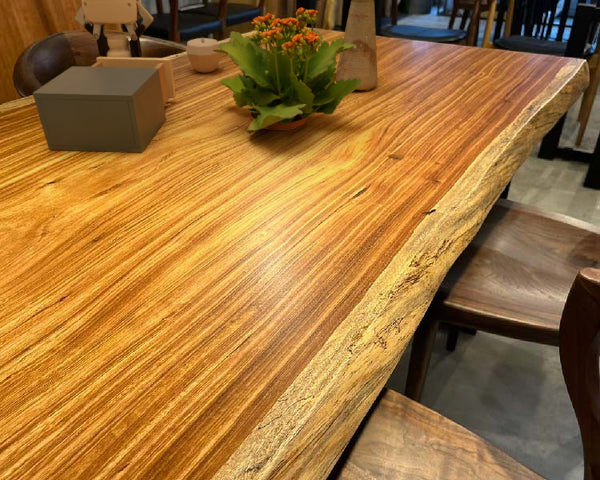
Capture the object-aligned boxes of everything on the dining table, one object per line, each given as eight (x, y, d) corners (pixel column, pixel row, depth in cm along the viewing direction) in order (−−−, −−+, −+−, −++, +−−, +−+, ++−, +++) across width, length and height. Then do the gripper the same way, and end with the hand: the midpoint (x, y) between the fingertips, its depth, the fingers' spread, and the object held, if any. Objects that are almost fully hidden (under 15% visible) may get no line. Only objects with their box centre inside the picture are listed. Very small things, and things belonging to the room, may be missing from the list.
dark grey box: (84, 117, 94) (71, 66, 89) (166, 120, 94) (158, 68, 88) (49, 150, 83) (32, 92, 77) (142, 152, 82) (131, 95, 77)
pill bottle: (132, 79, 113) (124, 33, 107) (144, 85, 109) (136, 38, 104) (108, 84, 110) (99, 37, 104) (119, 90, 107) (110, 42, 101)
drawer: (113, 88, 105) (106, 50, 101) (181, 89, 105) (176, 52, 100) (79, 119, 91) (69, 77, 87) (156, 121, 90) (150, 79, 86)
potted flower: (181, 118, 94) (167, 6, 84) (279, 90, 108) (277, -10, 97) (279, 159, 81) (277, 31, 70) (377, 121, 94) (387, 9, 83)
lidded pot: (217, 76, 115) (214, 43, 111) (182, 74, 116) (178, 41, 112) (227, 66, 121) (225, 35, 117) (194, 65, 122) (190, 33, 118)
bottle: (329, 90, 108) (336, -80, 91) (341, 78, 115) (349, -82, 97) (371, 95, 106) (386, -79, 89) (380, 82, 112) (396, -81, 95)
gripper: (154, -49, 98) (169, 56, 109) (63, -51, 99) (86, 54, 110) (143, -45, 92) (159, 66, 103) (46, -47, 93) (72, 64, 104)
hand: (121, 59), depth 107 cm, fingers closed on pill bottle, 5 cm apart
